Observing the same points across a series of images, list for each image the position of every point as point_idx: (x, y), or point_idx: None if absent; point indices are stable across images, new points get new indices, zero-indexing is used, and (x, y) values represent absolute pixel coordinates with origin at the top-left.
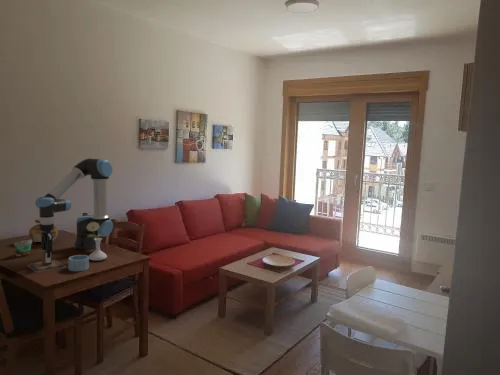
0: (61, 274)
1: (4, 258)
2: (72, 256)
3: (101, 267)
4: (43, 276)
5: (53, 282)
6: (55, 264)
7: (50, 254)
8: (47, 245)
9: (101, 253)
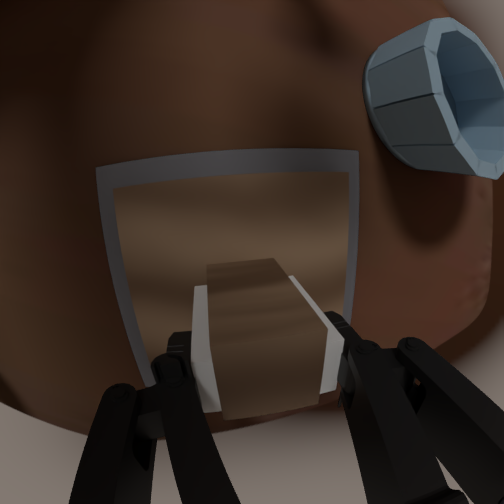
0: (444, 234)
1: (5, 404)
2: (447, 109)
3: (429, 14)
4: (412, 323)
5: (481, 290)
6: (301, 228)
7: (327, 321)
8: (438, 446)
9: None
